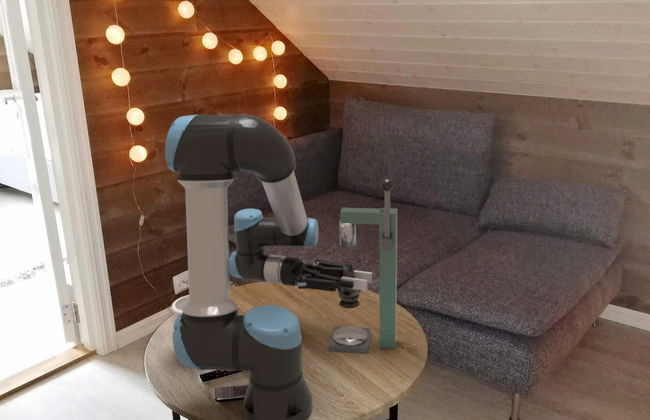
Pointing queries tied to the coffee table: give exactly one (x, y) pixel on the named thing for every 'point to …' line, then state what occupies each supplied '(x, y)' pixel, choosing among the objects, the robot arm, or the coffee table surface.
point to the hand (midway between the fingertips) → (369, 281)
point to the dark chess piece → (349, 290)
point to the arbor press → (387, 220)
